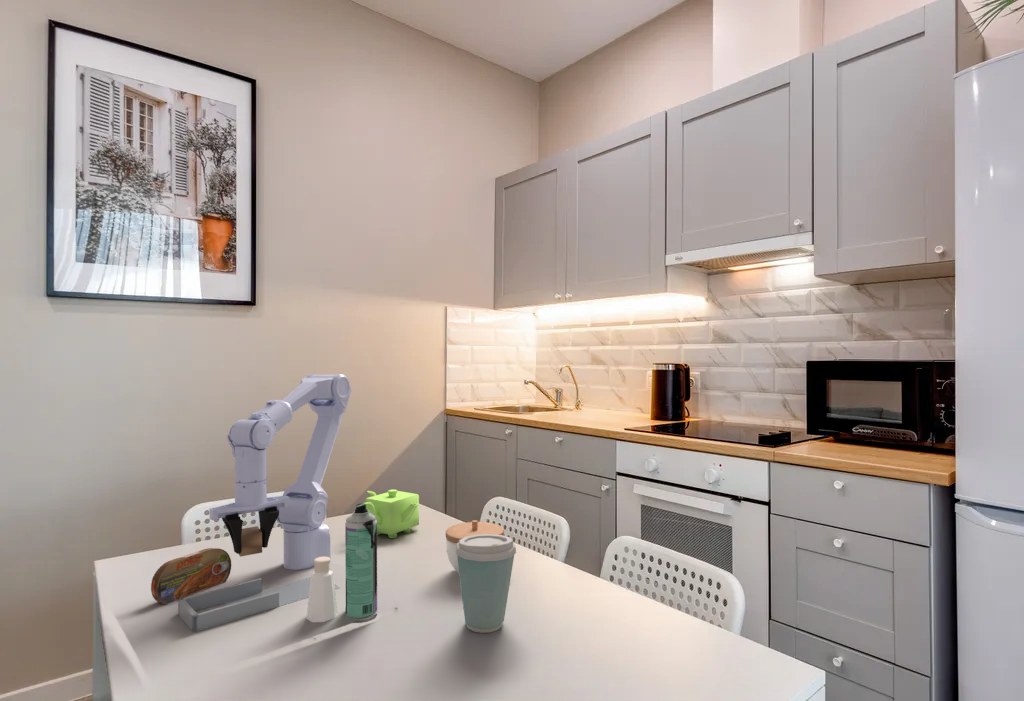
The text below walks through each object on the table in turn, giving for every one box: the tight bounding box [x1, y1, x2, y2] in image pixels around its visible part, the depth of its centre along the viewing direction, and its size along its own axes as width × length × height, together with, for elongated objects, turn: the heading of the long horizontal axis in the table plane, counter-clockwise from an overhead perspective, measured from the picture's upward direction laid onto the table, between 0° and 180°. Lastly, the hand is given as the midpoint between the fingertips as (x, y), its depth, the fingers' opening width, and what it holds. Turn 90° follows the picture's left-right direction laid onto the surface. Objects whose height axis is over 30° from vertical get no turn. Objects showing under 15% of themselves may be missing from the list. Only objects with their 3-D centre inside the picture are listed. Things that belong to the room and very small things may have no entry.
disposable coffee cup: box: [455, 534, 517, 633], centre depth 99 cm, size 11×11×15 cm
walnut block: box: [238, 525, 263, 557], centre depth 114 cm, size 4×5×4 cm
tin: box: [150, 547, 232, 606], centre depth 112 cm, size 15×3×8 cm, turn 151°
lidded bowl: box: [445, 519, 505, 576], centre depth 123 cm, size 13×13×11 cm
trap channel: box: [177, 576, 341, 633], centre depth 107 cm, size 26×10×4 cm, turn 133°
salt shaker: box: [306, 557, 339, 623], centre depth 101 cm, size 5×5×11 cm
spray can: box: [344, 502, 378, 624], centre depth 103 cm, size 6×6×20 cm
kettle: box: [364, 489, 420, 539], centre depth 152 cm, size 15×14×11 cm
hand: (251, 549), depth 113 cm, fingers closed on walnut block, 4 cm apart
